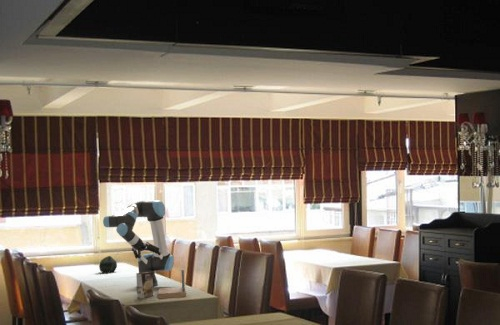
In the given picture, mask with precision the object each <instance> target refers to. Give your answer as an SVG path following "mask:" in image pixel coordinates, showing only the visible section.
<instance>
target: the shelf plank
mask: <svg viewBox="0 0 500 325" xmlns="http://www.w3.org/2000/svg"><path fill="white" fill-rule="evenodd" d="M186 288H187V287H185V291H182V286H177V287H164V288H162V287H161V288H158V299H166V298H167V299H169V298H183V297H187V289H186Z"/></svg>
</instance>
